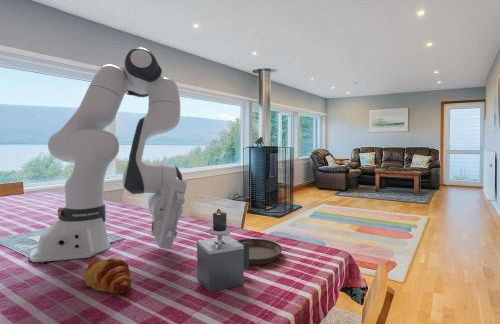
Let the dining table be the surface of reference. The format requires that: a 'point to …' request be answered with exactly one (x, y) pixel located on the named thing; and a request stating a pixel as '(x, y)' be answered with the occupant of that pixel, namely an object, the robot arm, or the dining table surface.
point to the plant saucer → (262, 251)
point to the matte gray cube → (221, 263)
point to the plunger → (219, 226)
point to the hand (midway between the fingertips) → (177, 218)
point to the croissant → (108, 275)
